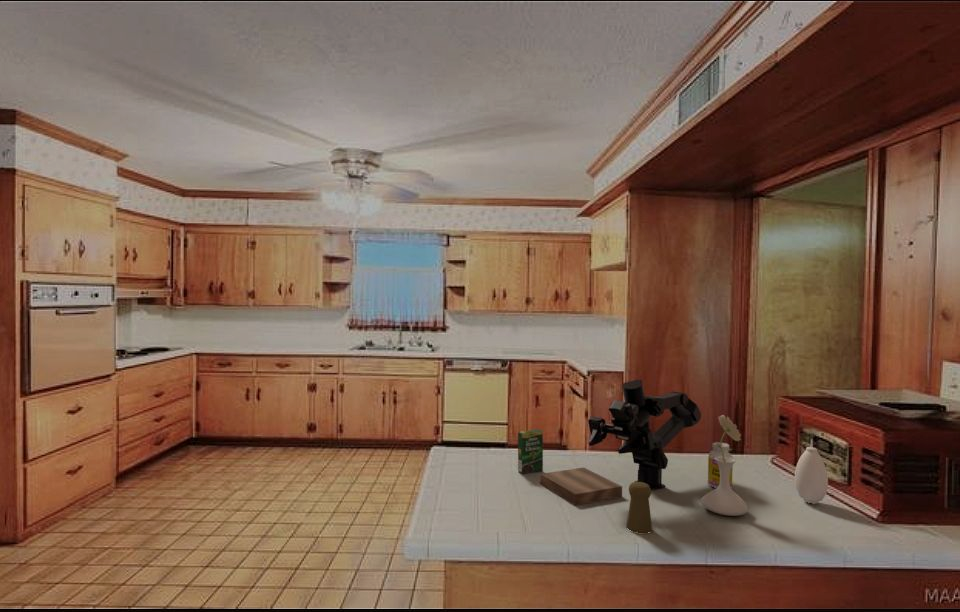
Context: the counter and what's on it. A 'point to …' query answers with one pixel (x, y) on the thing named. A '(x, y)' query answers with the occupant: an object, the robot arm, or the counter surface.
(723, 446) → the supplement bottle
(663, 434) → the robot arm
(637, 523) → the cork
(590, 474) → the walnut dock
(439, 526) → the counter surface
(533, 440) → the coffee box
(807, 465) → the sauce bottle
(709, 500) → the flower in vase
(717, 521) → the counter surface
